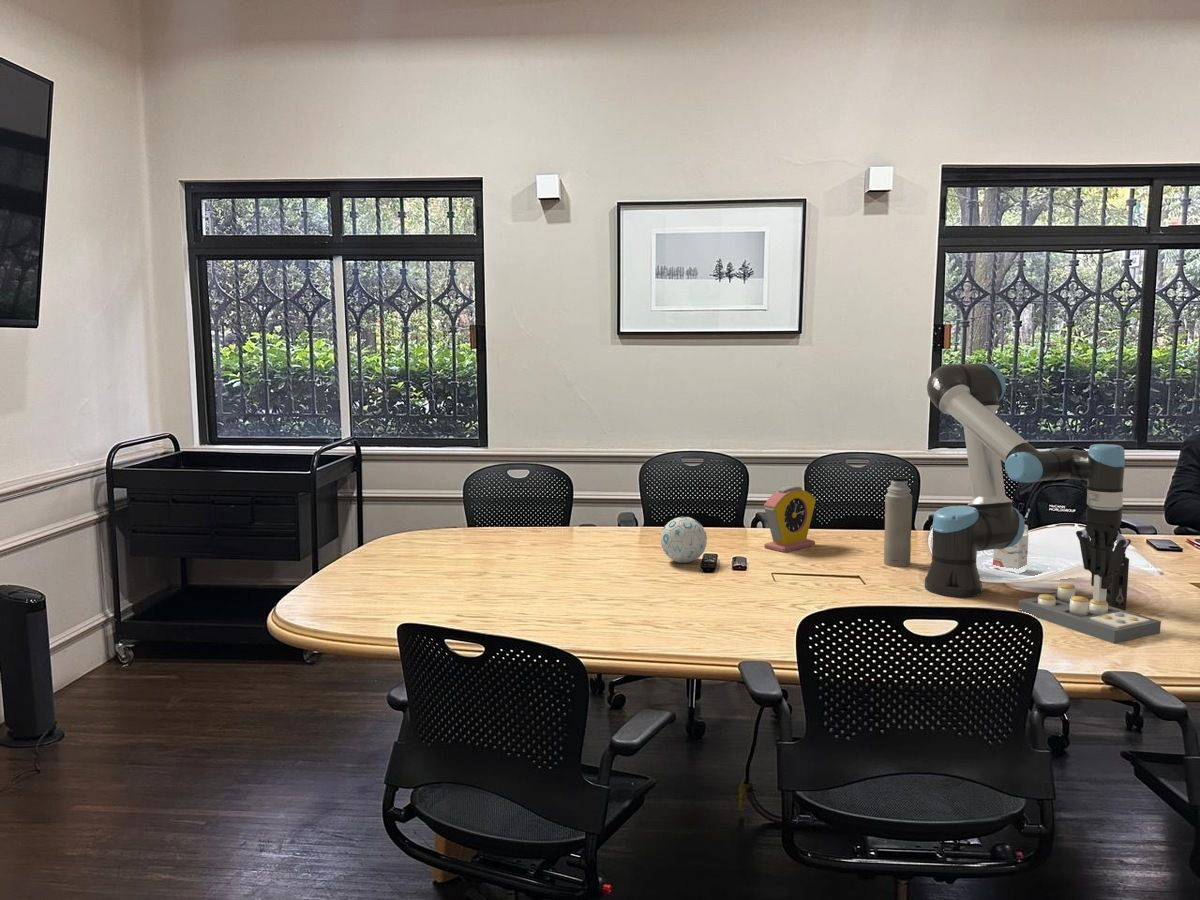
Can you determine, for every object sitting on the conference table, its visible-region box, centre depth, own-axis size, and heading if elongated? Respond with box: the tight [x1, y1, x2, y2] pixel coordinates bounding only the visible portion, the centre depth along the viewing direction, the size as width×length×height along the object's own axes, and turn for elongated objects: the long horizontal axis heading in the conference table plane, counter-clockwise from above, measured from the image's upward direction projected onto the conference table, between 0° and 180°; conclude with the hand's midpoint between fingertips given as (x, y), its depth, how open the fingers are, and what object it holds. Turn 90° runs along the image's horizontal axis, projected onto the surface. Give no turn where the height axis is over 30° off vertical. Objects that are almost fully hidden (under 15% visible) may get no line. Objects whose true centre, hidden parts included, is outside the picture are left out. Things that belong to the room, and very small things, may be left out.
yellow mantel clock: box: [763, 485, 817, 553], centre depth 286 cm, size 22×9×22 cm, turn 127°
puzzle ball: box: [660, 516, 708, 564], centre depth 268 cm, size 15×15×15 cm
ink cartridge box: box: [992, 524, 1029, 569], centre depth 252 cm, size 9×5×15 cm, turn 32°
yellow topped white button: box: [1089, 598, 1108, 613], centre depth 205 cm, size 4×4×4 cm
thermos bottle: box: [883, 476, 913, 568], centre depth 261 cm, size 8×8×28 cm
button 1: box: [1037, 593, 1056, 607], centre depth 210 cm, size 4×4×4 cm
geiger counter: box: [1106, 550, 1130, 611], centre depth 217 cm, size 10×4×15 cm, turn 170°
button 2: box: [1056, 582, 1076, 603], centre depth 213 cm, size 4×4×4 cm
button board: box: [1018, 593, 1162, 644], centre depth 204 cm, size 26×16×4 cm, turn 22°
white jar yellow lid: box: [1069, 595, 1089, 617], centre depth 202 cm, size 4×4×4 cm
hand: (1099, 600), depth 204 cm, fingers closed
